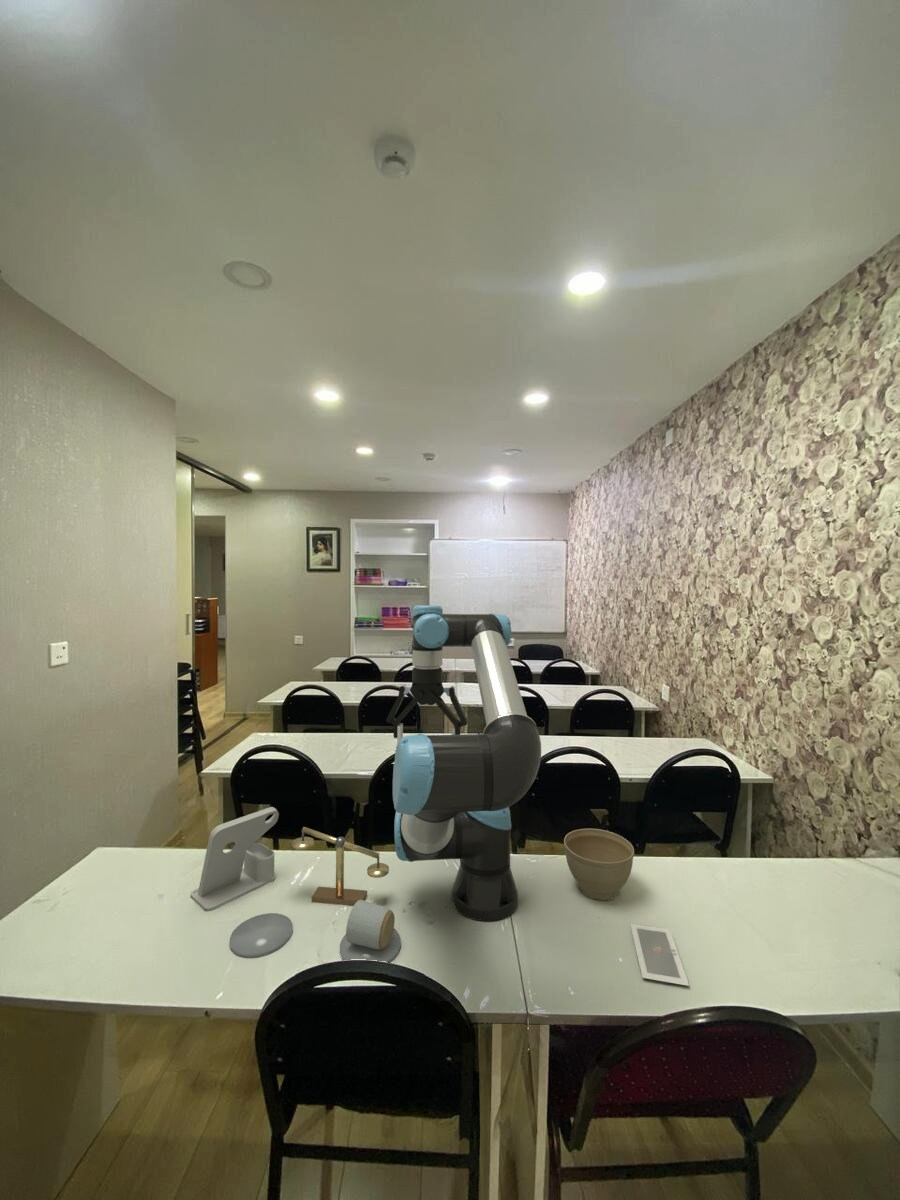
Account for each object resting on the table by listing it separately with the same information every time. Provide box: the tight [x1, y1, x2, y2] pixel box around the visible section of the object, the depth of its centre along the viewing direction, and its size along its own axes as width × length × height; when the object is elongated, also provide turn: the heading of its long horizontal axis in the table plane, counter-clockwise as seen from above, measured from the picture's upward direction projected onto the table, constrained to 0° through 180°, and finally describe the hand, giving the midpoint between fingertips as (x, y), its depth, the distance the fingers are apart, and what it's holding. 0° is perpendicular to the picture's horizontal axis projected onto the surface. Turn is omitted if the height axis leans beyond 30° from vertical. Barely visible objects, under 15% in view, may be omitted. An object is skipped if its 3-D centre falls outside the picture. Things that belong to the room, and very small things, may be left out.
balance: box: [291, 826, 390, 907], centre depth 110 cm, size 23×5×16 cm, turn 83°
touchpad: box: [630, 923, 690, 987], centre depth 93 cm, size 8×15×2 cm, turn 167°
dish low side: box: [339, 928, 402, 963], centre depth 94 cm, size 12×12×1 cm
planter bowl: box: [563, 828, 635, 901], centre depth 114 cm, size 16×16×11 cm
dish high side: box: [229, 912, 294, 959], centre depth 97 cm, size 12×12×1 cm
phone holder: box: [189, 806, 280, 912], centre depth 114 cm, size 17×10×18 cm, turn 141°
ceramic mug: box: [345, 900, 395, 950], centre depth 96 cm, size 10×8×7 cm
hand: (426, 752), depth 118 cm, fingers open, 13 cm apart
